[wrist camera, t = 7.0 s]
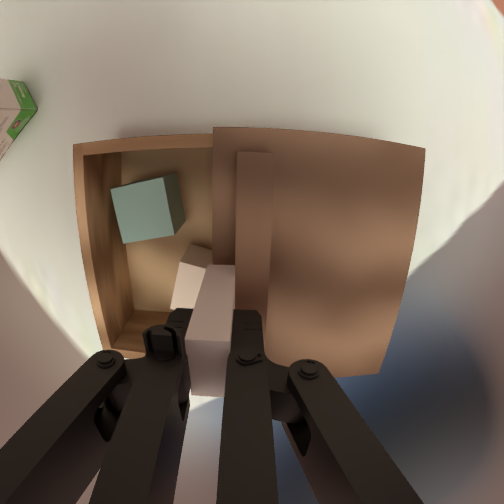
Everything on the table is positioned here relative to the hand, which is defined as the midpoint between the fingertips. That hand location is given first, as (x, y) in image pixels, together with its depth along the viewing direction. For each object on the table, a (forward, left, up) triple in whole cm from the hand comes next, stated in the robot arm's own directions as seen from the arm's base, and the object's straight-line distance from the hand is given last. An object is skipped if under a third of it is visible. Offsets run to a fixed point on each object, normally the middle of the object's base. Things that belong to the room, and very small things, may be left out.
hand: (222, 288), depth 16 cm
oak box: (0, -4, -10) cm, 10 cm away
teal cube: (-3, -6, -9) cm, 11 cm away
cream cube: (+3, -2, -9) cm, 10 cm away
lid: (0, +6, -2) cm, 6 cm away
